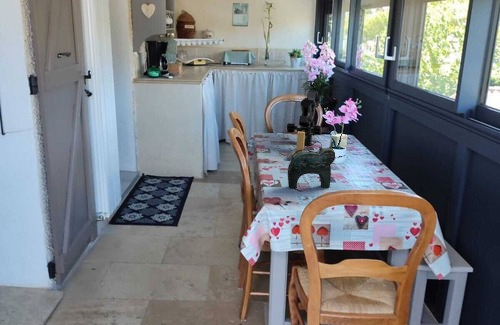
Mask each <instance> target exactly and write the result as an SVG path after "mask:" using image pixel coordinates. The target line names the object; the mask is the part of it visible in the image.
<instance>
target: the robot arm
mask: <svg viewBox="0 0 500 325" xmlns="http://www.w3.org/2000/svg"><path fill="white" fill-rule="evenodd" d="M321 99H322V97H321V94H320V93H318V91H317V90H311V89H310V90H308V93H307V94H306V97H304V98H303V99H302V100H301V101H300V102H299V103H300V111H301V115H299V121H298V125H295V123H293V122H288V123H287V124H286V130H287V133H289V134H290V133H291V134H292V133H295V131H296V133H297V132H298V131H299V132H305V139H304V147H305V146H306V147H310V146H314V145H313V143H314V142H312V141H313V137H314V136H321V135H322V125H320V124H319V125H318V124H317V125H316V124H315V121H314V117H315V111H316V109H317V108H318V107H319V106H320V104H321Z"/></svg>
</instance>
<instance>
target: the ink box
mask: <svg viewBox="0 0 500 325" xmlns="http://www.w3.org/2000/svg"><path fill="white" fill-rule="evenodd" d="M335 134H336V135H335ZM335 134H331V135H330V140H329V141H330V142H329V147H330V146H332V147H333V146H334V143H333V140H332V138H334V139H335V141H336V146H337V145H338V143H339V140H340V136H341V134H342V136H341V142H340V146H341V147H343V148H345V149H346V150H347V144H348V137H349V136H348V135H347V134H344V133H335Z"/></svg>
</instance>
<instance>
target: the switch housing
mask: <svg viewBox="0 0 500 325" xmlns="http://www.w3.org/2000/svg"><path fill="white" fill-rule="evenodd" d="M304 149H307V147H306V148H305V147H304ZM297 150H298V149H296V147H295V148H294V149H293V150H291V151H290V152H289V154H288V155H287V157H286V161H290V162H291V160H292V156H293V154H294V153H295V152H296V151H297ZM307 150H308V149H307ZM307 150H303V151H302V152H308V151H307ZM297 154H298V153H296V154H295V155H297ZM295 155H294V156H295ZM294 156H293V157H294Z"/></svg>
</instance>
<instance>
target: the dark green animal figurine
mask: <svg viewBox="0 0 500 325" xmlns="http://www.w3.org/2000/svg"><path fill="white" fill-rule="evenodd" d="M312 143H313V145H312V146H314V145H315V144H317V143H319V144H320V146H319V147H318V148H319V150H318V151H313V150H310V149H302V150H307V152H302V153H299V154H297V155H295V154H296V153H297V152H298V151H302V150H298V151H296V152H295V153H294V154H293V156H294V155H295V156H294V157H293V156H292V160H291V161H290V162H289V164H288V167H287V182H288V183H287V184H288V185H287V186H288V188H289V189H290V190H291V189H292V190H293V189H296V190H297V189H298V182H299V179H300V178H301V177H302V176H304V175H306V174H307V175H308V174H313V175H318V176H319V179H320V180H319V181H320V188H322V189H326V188H328V189H329V188H330V187H331V176H332V169H331V168H332V167H331V165H332V164H333V163H334V162H335V160H336V158H335V152H334V150H333V148H332V146H330V145H329V147H323V145H322V142H320V141H319V140H316V141H314V142H312Z"/></svg>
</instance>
